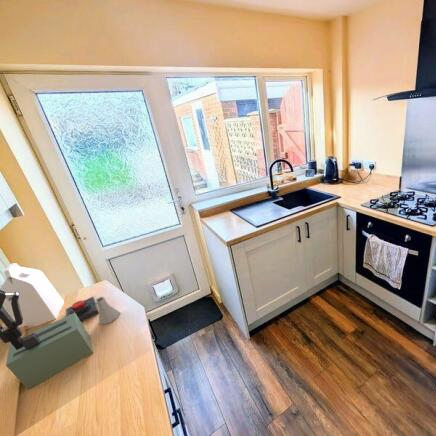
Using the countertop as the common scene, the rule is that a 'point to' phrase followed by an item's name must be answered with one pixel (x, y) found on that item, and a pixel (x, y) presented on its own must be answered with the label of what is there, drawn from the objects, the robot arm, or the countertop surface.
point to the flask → (106, 311)
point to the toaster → (50, 351)
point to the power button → (78, 305)
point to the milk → (31, 295)
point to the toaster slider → (30, 341)
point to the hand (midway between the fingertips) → (20, 345)
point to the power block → (85, 310)
